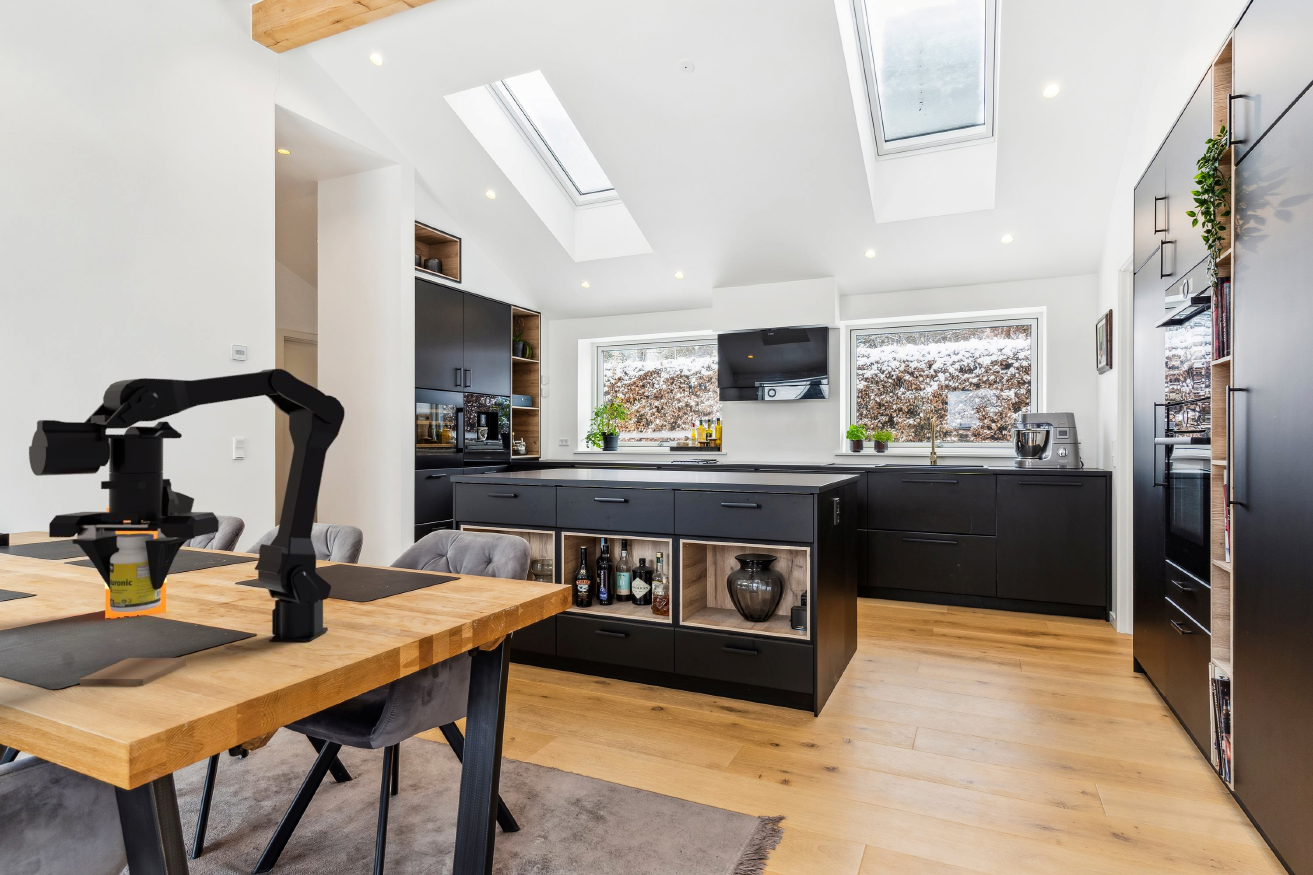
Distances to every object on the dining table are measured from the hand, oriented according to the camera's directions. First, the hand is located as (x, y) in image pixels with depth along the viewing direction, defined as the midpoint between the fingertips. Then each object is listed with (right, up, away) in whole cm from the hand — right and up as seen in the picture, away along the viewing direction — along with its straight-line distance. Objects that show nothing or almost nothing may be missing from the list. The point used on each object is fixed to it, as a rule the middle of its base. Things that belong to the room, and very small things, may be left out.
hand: (135, 588), depth 90 cm
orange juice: (-26, -13, +34) cm, 45 cm away
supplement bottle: (0, -3, 0) cm, 3 cm away
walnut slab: (0, -13, 0) cm, 13 cm away
